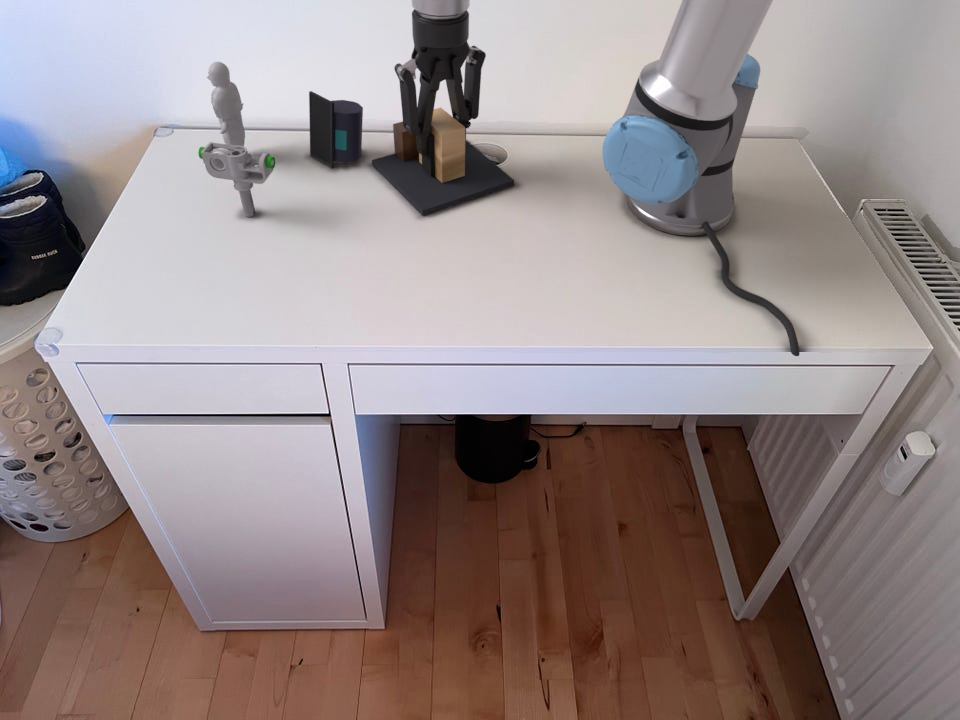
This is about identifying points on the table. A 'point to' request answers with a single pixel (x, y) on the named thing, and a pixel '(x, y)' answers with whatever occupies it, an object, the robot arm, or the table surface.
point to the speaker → (335, 130)
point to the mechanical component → (237, 169)
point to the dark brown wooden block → (404, 143)
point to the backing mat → (435, 194)
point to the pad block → (447, 146)
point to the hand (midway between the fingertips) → (441, 167)
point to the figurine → (227, 104)
